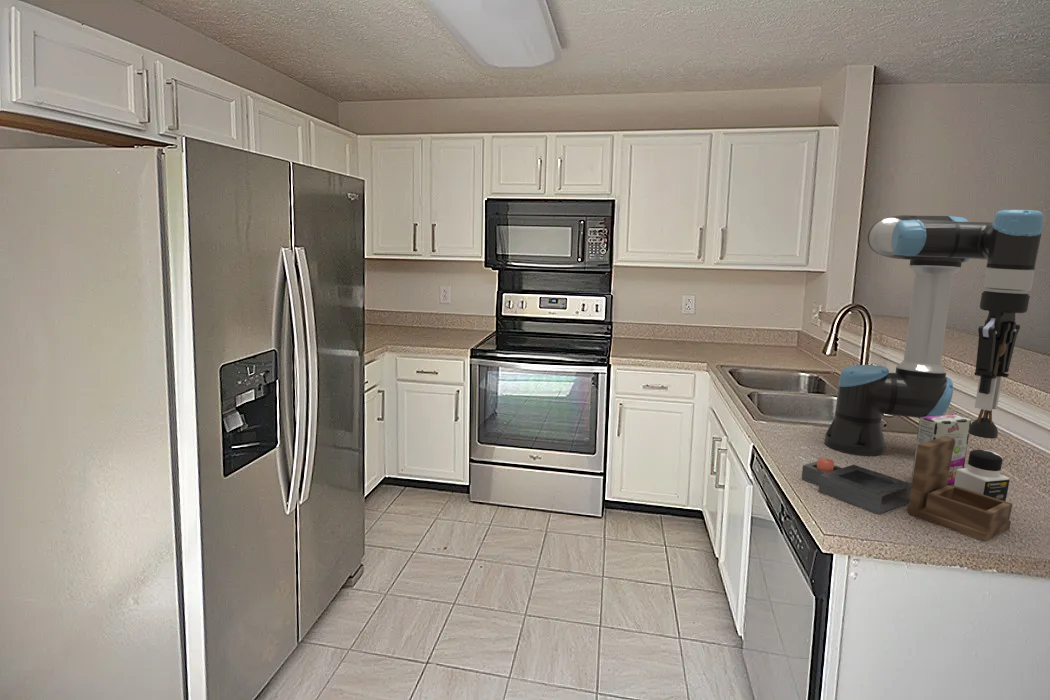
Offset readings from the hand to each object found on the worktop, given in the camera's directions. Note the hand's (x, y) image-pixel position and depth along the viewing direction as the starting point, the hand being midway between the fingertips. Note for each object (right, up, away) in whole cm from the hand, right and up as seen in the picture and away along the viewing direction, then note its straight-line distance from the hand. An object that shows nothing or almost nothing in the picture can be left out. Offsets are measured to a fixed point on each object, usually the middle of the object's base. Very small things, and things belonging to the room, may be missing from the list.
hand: (985, 408), depth 127 cm
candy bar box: (+8, -21, +27) cm, 35 cm away
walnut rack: (-2, -24, +6) cm, 25 cm away
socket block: (-17, -21, +19) cm, 33 cm away
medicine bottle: (+10, -23, +16) cm, 29 cm away
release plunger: (-21, -20, +25) cm, 38 cm away
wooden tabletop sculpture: (0, -6, +1) cm, 6 cm away
